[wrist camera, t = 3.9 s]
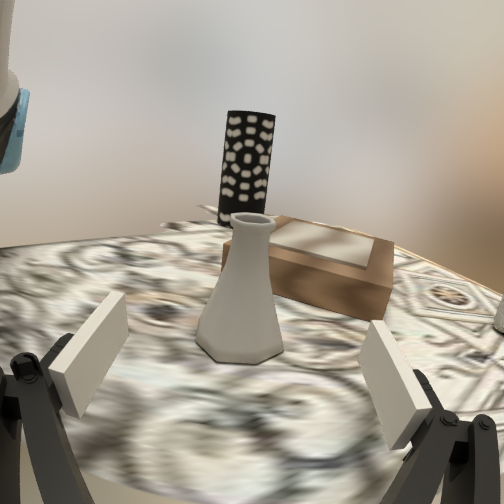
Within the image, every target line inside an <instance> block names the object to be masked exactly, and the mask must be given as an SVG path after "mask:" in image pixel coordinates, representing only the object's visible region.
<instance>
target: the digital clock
mask: <svg viewBox="0 0 504 504" xmlns="http://www.w3.org/2000/svg"><path fill="white" fill-rule="evenodd" d="M494 327H495V328H496V329H497V330H498V331H500V332H502V333H504V294H503V297H502V300H501V303H500V305H499V308H498V311H497V314H496V316H495V319H494Z"/></svg>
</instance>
